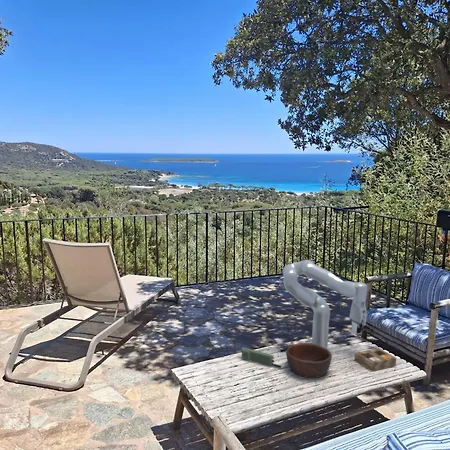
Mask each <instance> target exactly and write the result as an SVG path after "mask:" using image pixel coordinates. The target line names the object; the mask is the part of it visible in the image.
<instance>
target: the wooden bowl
mask: <svg viewBox="0 0 450 450" xmlns="http://www.w3.org/2000/svg"><path fill="white" fill-rule="evenodd" d="M329 350H330V349H329ZM329 350H327V349H326V348H324V347H322V346H319V345H315V344H312V343H309V342H308V343H307V342H305V343H304V342H301V343H294V344H291V345H289V346H288V347H287V348H286V351H285V352H286V353H285V354H286V355H285V356H286V361H287V362H286V363H287V364H288V367H289V369H290V370H291V371H292V372H293V373H294V374H295V375H297V376H301V377H303V378H312V379H313V378H320V377H322V376H324V375H325V374H327V372H328V371H329V369H330V367H331V363H332V358H333V356H332V353H331V350H330V351H329Z"/></svg>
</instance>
